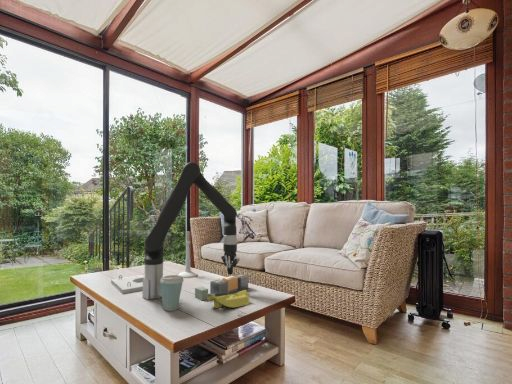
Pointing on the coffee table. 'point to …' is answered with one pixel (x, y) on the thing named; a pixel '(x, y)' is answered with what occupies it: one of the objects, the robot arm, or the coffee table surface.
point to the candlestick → (188, 261)
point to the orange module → (231, 282)
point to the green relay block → (201, 293)
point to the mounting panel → (129, 283)
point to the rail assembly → (222, 286)
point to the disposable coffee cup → (171, 291)
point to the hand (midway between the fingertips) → (230, 274)
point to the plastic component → (230, 300)
